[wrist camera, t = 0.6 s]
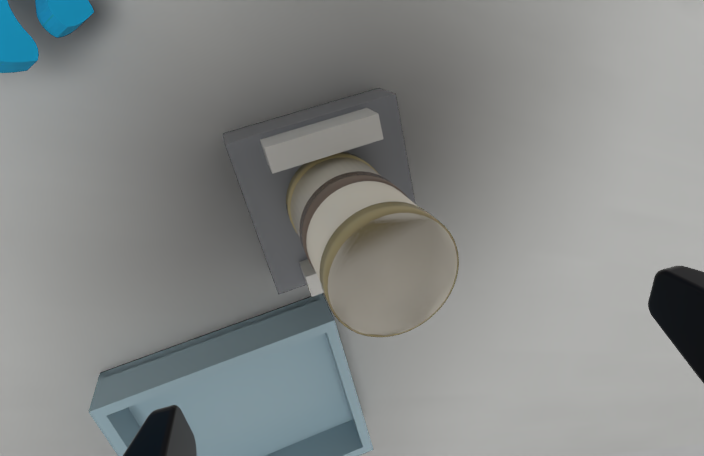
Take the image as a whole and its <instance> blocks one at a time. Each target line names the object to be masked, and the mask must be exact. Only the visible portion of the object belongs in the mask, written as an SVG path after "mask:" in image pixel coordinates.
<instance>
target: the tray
mask: <svg viewBox="0 0 704 456" xmlns="http://www.w3.org/2000/svg"><path fill="white" fill-rule="evenodd" d="M171 405H177V406H178V407H179V408H180V409H181V411H182V412H183V414H184V416H185V418H186V420H187V422H188V424H189V426H190V428H191V430H192V432H193V434H194V437H195V442H196V451H197V456H359V455H362V454H364V453H366V452H369V451H371V450H373V446H372V443H371V440H370V436H369V433H368V430H367V426H366V423H365V420H364V416H363V413H362V410H361V406H360V403H359V400H358V396H357V393H356V390H355V386H354V383H353V380H352V376H351V373H350V370H349V367H348V363H347V360H346V357H345V353H344V350H343V347H342V343H341V340H340V337H339V333H338V330H337V327H336V323H335V320H334V318H333V316H332V313H331V311H330V309H329V307H328V305H327V302H326V300H325V298H324V296H323V294H322V293H321V294H318V295H316V296H313V297H309V298H307V299H304V300H301V301H298V302H296V303H293V304H290V305H287V306H285V307H282V308H279V309H276V310H274V311H271V312H268V313H265V314H262V315H260V316H257V317H254V318H251V319H249V320H246V321H243V322H240V323H238V324H235V325H232V326H229V327H227V328H224V329H221V330H218V331H215V332H213V333H210V334H207V335H204V336H202V337H199V338H196V339H193V340H191V341H188V342H185V343H182V344H180V345H177V346H174V347H171V348H168V349H166V350H163V351H160V352H157V353H155V354H152V355H149V356H146V357H144V358H141V359H138V360H135V361H133V362H130V363H127V364H124V365H121V366H119V367H116V368H113V369H110V370H108V371H105V372H102V373H100V375H99V378H98V382H97V385H96V389H95V392H94V396H93V399H92V402H91V406H90V409H89V413H90V415H91V416H92V418H93V419H94V421H95V422H96V424H97V425H98V427H99V428H100V430H101V431H102V433H103V434H104V435H105V437H106V438H107V440H108V441H109V443H110V444H111V446H112V447H113V449H114V450H115V452H116V453H117V455H118V456H123V454H124V453H125V451H126V450H127V448H128V447H129V445H130V443H131V442H132V440H133V439H134V437H135V436H136V434H137V433H138V431H139V429H140V428H141V426H142V425H143V423H144V422H145V420H146V419H147V417H148V416H149V414H150V413H151V412H153V411H154V410H157V409H161V408H164V407H168V406H171Z"/></svg>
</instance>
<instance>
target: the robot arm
mask: <svg viewBox="0 0 704 456" xmlns="http://www.w3.org/2000/svg"><path fill="white" fill-rule="evenodd" d="M648 307H649V311H650V313H651V315H652V316H653V318H654V319H655V320H656V322H657V323H658V324H659V326H660V327H661V328H662V330H663V331H664V332H665V334H666V335H667V336H668V337H669V339H670V340H671V341H672V343H673V344H674V345H675V347H676V348H677V349H678V351H679V352H680V353H681V355H682V356H683V357H684V359H685V360H686V361H687V362H688V364H689V365H690V366H691V368H692V369H693V370H694V372H695V373H696V374H697V375H698V377H699V378H700V379H701V380H702V382H703V383H704V272H701V271H698V270H695V269H691V268H688V267H684V266H674V267H670V268H667V269H663V270H660V271H658V273H657V274H656V275H655V278H654V282H653V286H652V290H651V294H650V297H649V302H648ZM123 456H197V451H196V442H195V437H194V434H193V432H192V430H191V428H190V426H189V424H188V422H187V420H186V418H185V416H184V414H183V412H182V411H181V409H180V408H179V407H178V406H177V405H171V406H168V407H164V408H161V409H157V410H154V411H153V412H151V413H150V414H149V416H148V417H147V419H146V420H145V422H144V423H143V425H142V426H141V428H140V429H139V431H138V433H137V434H136V436H135V437H134V439H133V440H132V442H131V443H130V445H129V447H128V448H127V450H126V451H125V453H124V454H123Z"/></svg>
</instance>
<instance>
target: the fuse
mask: <svg viewBox="0 0 704 456" xmlns="http://www.w3.org/2000/svg"><path fill="white" fill-rule="evenodd" d="M286 209H287V213H288V216H289V219H290V221H291V223H292V225H293V227H294V229H295V231H296V233H297V234H298V235H299V237H300V240H301V244H302V247H303V249H304V251H305V254H306V256H307V258H308V260H309V262H310V264H311V266H312V268H313V269H314V270H315V272H316V274H317V276H318V278H319V280H320V282H321V287H322V290H323V292H324V295H325V297H326V299H327V301H328V304H329V306H330V308H331V310H332V312H333V313H334V315H335V316H336V318H337V319H338V320H339V321H340V322H341V323H342V324H343V325H344V326H345V327H347V328H349V329H350V330H352V331H354V332H356V333H358V334H362V335H365V336H371V337H388V336H394V335H399V334H402V333H405V332H408V331H410V330H412V329H414V328H416V327H418V326H419V325H421V324H423V323H424V322H425V321H427V320H428V319H430V318H431V317H432V316H433V315H434V314H435V313H436V312H437V311H438V310H439V309H440V308H441V307H442V305H443V304H444V303H445V301H446V300H447V298H448V297H449V295H450V293H451V291H452V289H453V287H454V284H455V281H456V278H457V273H458V265H459V259H458V251H457V247H456V244H455V241H454V239H453V237H452V235H451V234H450V232H449V231H448V230H447V229H446V227H445V226H444V225H442V224H441V223H440V222H439V221H438V220H437V219H435V218H434V217H433V216H432V215H430V214H429V213H428V212H427V211H425V210H424V209H422V208H420V207H418V206H417V205H416V204H415V203H413V202H412V201H411V200H410V199H409V198H408V197H407V196H406V195H405V194H404V193H403V192H402V191H401V190H400V189H399V188H397V187H396V186H395V185H394V184H393V183H391V182H390V181H389V180H387V179H386V178H384V177H382V176H381V175H380V174H378V173H377V171H376V170H375V169H374V168H373V167H372V166H371V165H369V164H368V163H367V162H366V161H365V160H363V159H362V158H360V157H358V156H356V155H354V154H351V153H348V152H341V153H337V154H334V155H331V156H328V157H325V158H321V159H318V160H315V161H312V162H309V163H305V164H303V165H302V166H301V167H300V168H299V169H298V170H297V171H296V173H295V174H294V176H293V177H292V179H291V181H290V183H289V186H288V189H287V194H286Z"/></svg>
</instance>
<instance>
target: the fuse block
mask: <svg viewBox="0 0 704 456" xmlns="http://www.w3.org/2000/svg"><path fill="white" fill-rule="evenodd" d="M223 138H224V143H225V146H226V149H227V152H228V155H229V157H230V160H231V163H232V166H233V169H234V171H235V174H236V177H237V180H238V182H239V185H240V188H241V191H242V194H243V196H244V199H245V202H246V205H247V208H248V210H249V213H250V216H251V219H252V222H253V224H254V227H255V230H256V233H257V236H258V238H259V241H260V244H261V247H262V250H263V252H264V255H265V258H266V261H267V264H268V266H269V269H270V272H271V275H272V277H273V280H274V283H275V286H276V289H277V291H278V294H281V293H284V292H287V291H290V290H293V289H295V288H298V287H301V286H304V285H307V286H308V289H309V291H310V294H311V296H312V297H313V296H316V295H318V294H321V293H324V292H323V290H322V287H321V282H320V280H319V278H318V276H317V274H316V272H315V270H314V269H313V268H312V266H311V264H310V262H309V260H308V258H307V256H306V254H305V251H304V249H303V247H302V244H301V240H300V237H299V235H298V234H297V233H296V231H295V229H294V227H293V225H292V223H291V221H290V219H289V216H288V213H287V209H286V194H287V189H288V186H289V183H290V181H291V179H292V177H293V176H294V174H295V173H296V171H297V170H298V169H299V168H300V167H301V166H302V165H303V164H305V163H309V162H312V161H315V160H318V159H321V158H325V157H328V156H331V155H334V154H337V153H341V152H348V153H351V154H354V155H356V156H358V157H360V158H362V159H363V160H365V161H366V162H367V163H368V164H369V165H371V166H372V167H373V168H374V169H375V170H376V171H377V173H378V174H380V175H381V176H382V177H384V178H386V179H387V180H389V181H390V182H391V183H393V184H394V185H395V186H396V187H397V188H399V189H400V190H401V191H402V192H403V193H404V194H405V195H406V196H407V197H408V198H409V199H410V200H411V201H412V202H413V203H415V199H414V193H413V187H412V182H411V176H410V171H409V165H408V159H407V154H406V148H405V142H404V137H403V131H402V126H401V120H400V114H399V109H398V103H397V98H396V94H395V93H392V92H389V91H386V90H383V89H380V88H378V89H374V90H371V91H367V92H364V93H360V94H357V95H354V96H350V97H347V98H343V99H340V100H336V101H333V102H330V103H326V104H323V105H319V106H316V107H313V108H309V109H306V110H302V111H299V112H295V113H292V114H289V115H285V116H282V117H278V118H275V119H271V120H268V121H265V122H261V123H258V124H254V125H251V126H247V127H244V128H241V129H237V130H234V131H230V132H227V133H223Z"/></svg>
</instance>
